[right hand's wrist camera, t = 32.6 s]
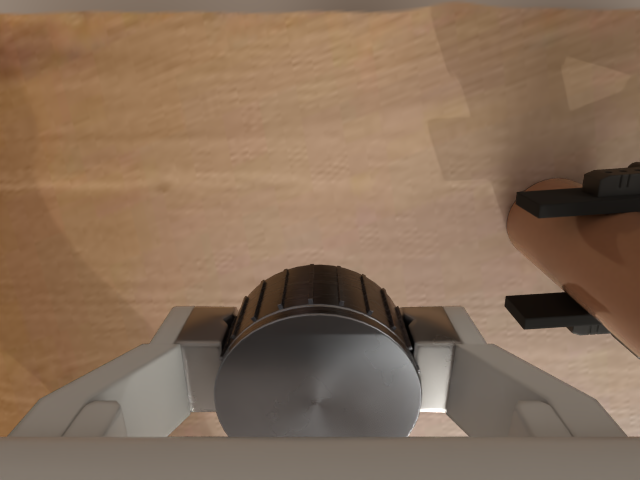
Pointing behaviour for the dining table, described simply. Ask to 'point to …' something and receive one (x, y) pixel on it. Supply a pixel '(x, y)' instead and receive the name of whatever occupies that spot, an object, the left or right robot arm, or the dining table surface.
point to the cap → (318, 360)
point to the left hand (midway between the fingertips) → (521, 261)
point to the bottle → (587, 260)
